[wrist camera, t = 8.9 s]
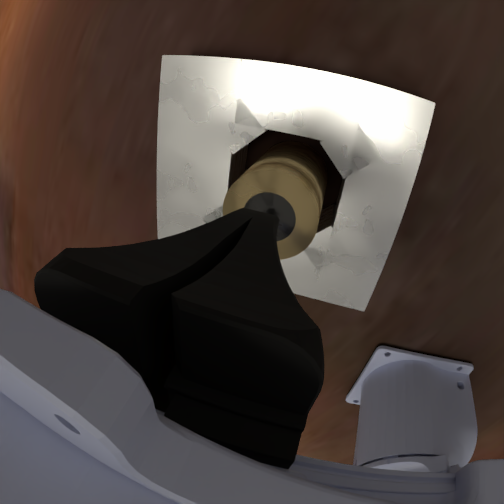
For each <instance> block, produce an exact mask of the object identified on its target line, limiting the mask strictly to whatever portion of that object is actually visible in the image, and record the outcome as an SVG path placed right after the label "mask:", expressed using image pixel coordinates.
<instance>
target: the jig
mask: <svg viewBox="0 0 504 504" xmlns="http://www.w3.org/2000/svg"><path fill="white" fill-rule="evenodd" d="M434 107H435V103H434V102H431V101H429V100H426V99H423V98H420V97H417V96H414V95H411V94H408V93H405V92H402V91H399V90H396V89H392V88H389V87H386V86H382V85H379V84H375V83H372V82H368V81H364V80H360V79H356V78H352V77H348V76H344V75H339V74H335V73H330V72H325V71H320V70H315V69H310V68H305V67H299V66H293V65H287V64H280V63H273V62H265V61H257V60H248V59H237V58H225V57H209V56H181V55H162V65H161V78H160V92H159V110H158V135H157V226H158V239H161V238H165V237H168V236H172V235H175V234H179V233H182V232H185V231H188V230H190V229H193V228H195V227H198V226H201V225H203V224H206V223H208V222H211V221H213V220H215V219H218V218H220V217H222V216H223V203H224V198H225V196H226V193H227V192H228V190H229V188H230V187H231V186H232V184H233V183H234V182H235V181H236V180H237V179H239V178H240V177H241V176H242V175H243V174H244V173H245V168H246V160H247V152H248V144H249V143H250V142H251V141H252V140H254V139H255V138H257V137H258V136H260V135H261V134H262V133H264V132H265V131H267V130H274V131H279V132H284V133H289V134H294V135H298V136H303V137H308V138H312V139H316V140H321V141H320V144H321V145H322V147H323V148H324V150H325V151H326V153H327V154H328V156H329V157H330V159H331V160H332V162H333V163H334V165H335V166H336V168H337V170H338V171H339V173H340V174H341V176H342V177H343V178H342V182H341V186H340V190H339V194H338V198H337V202H336V206H335V204H332V205H330V206H328V207H327V208H325V209H323V210H321V214H320V219H319V223H318V227H317V232H316V234H315V237H314V239H313V240H312V242H311V243H310V245H309V246H308V247H307V248H306V249H305V250H304V251H302V252H301V253H299V254H298V255H296V256H293V257H291V258H287V259H282V260H280V262H281V265H282V268H283V271H284V274H285V277H286V279H287V282H288V284H289V286H290V288H291V290H292V292H293V293H295V294H299V295H302V296H306V297H310V298H314V299H317V300H321V301H325V302H329V303H333V304H337V305H340V306H344V307H348V308H352V309H356V310H360V311H365V308H366V306H367V304H368V302H369V300H370V297H371V295H372V293H373V290H374V288H375V286H376V284H377V281H378V279H379V276H380V274H381V272H382V269H383V267H384V264H385V262H386V259H387V257H388V254H389V252H390V249H391V247H392V244H393V241H394V239H395V236H396V233H397V231H398V228H399V225H400V222H401V220H402V217H403V214H404V211H405V208H406V205H407V202H408V199H409V196H410V193H411V190H412V187H413V184H414V181H415V178H416V174H417V171H418V168H419V164H420V161H421V157H422V154H423V150H424V147H425V143H426V139H427V136H428V132H429V128H430V124H431V120H432V116H433V112H434Z"/></svg>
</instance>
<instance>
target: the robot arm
mask: <svg viewBox="0 0 504 504" xmlns="http://www.w3.org/2000/svg"><path fill="white" fill-rule="evenodd" d="M279 220H280V219H279V218H278V216H276V215H272V214H268V213H264V212H260V211H255V210H251V209H247V208H241V209H238V210H236V211H233V212H231V213H229V214H227V215H224V216H222V217H220V218H218V219H215V220H213V221H211V222H208V223H206V224H203V225H201V226H198V227H195V228H193V229H190V230H188V231H185V232H182V233H179V234H175V235H172V236H168V237H165V238H161V239H157V240H151V241H146V242H141V243H136V244H130V245H122V246H112V247H100V248H66V249H64V250H63V251H62V252H61V253H60V254H58V255H57V256H56V257H55V258H54V259H52V260H51V261H50V262H49V263H48V264H47V265H45V266H44V267H43V268H42V269H41V270H40V271H38V272H37V274H36V276H35V279H34V283H35V293H36V297H37V301H38V303H39V306H40V308H41V309H39V308H37V307H36V306H34V305H32V304H30V303H29V302H27V301H25V300H24V299H22V298H21V297H19V296H17V295H16V294H14V293H12V292H10V291H6V290H3V289H0V504H504V459H490V460H477V461H474V462H471V463H469V464H467V463H468V462H469V460H470V459H471V457H472V455H473V452H474V449H475V446H476V441H477V421H476V414H475V407H474V401H473V395H472V389H471V384H470V379H469V374H470V373H471V372H472V371H473V364H471V363H466V362H460V361H455V360H450V359H445V358H440V357H435V356H430V355H425V354H420V353H415V352H410V351H406V350H401V349H397V348H392V347H388V346H379V347H377V348H376V350H375V351H374V353H373V355H372V356H371V358H370V360H369V361H368V363H367V365H366V366H365V368H364V370H363V371H362V373H361V374H360V376H359V378H358V379H357V381H356V382H355V384H354V385H353V387H352V389H351V390H350V392H349V393H348V395H347V396H346V401H347V402H348V403H353V404H358V405H360V410H359V420H358V430H357V438H356V446H355V454H354V461H353V465H348V464H342V463H336V462H330V461H325V460H319V459H314V458H309V457H305V456H300V455H296V454H297V450H298V446H299V441H300V437H301V433H302V432H303V430H304V428H305V425H306V420H307V416H308V413H309V411H310V409H311V407H312V406H313V404H314V402H315V400H316V399H317V397H318V395H319V393H320V391H321V388H322V385H323V380H324V353H323V345H322V338H321V333H320V329H319V328H318V326H317V325H316V324H315V323H314V322H313V320H312V319H311V318H310V317H309V316H308V315H307V314H306V312H305V311H304V310H303V309H302V307H301V306H300V304H299V303H298V301H297V299H296V297H295V295H294V293H293V292H292V290H291V288H290V286H289V284H288V282H287V279H286V277H285V274H284V271H283V268H282V265H281V262H280V258H279V253H278V247H277V238H276V236H277V231H278V225H279ZM387 352H389V353H387Z"/></svg>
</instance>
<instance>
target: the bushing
mask: <svg viewBox="0 0 504 504" xmlns="http://www.w3.org/2000/svg"><path fill="white" fill-rule="evenodd" d="M327 181H328V171H327V167H326V164H325V162H324V160H323V158H322V157H321V155H320V154H319V153H318V152H317V151H316V150H315V149H314V148H312V147H311V146H309V145H307V144H305V143H302V142H297V141H285V142H281V143H278V144H276V145H274V146H273V147H271V148H270V149H269V150H268V151H267V152H266V153H265V154H264V155H263V156H261V157H260V158H259V159H258V160H257V161H256V162H255V163H254V164H253V165H252V166H251V167H250V168H249V169H248V170H247V171H246V172H245V173H244V174H243V175H242V176H241V177H240V178H239V179H237V180H236V181H235V182H234V183H233V184H232V186H231V187H230V188H229V190H228V192H227V193H226V196H225V198H224V203H223V216H224V215H227V214H229V213H231V212H233V211H236V210H238V209H241V208H247V209H251V210H255V211H260V212H264V213H268V214H272V215H276V216H278V218H279V219H280V220H279V225H278V231H277V236H276V238H277V247H278V253H279V258H280V260H282V259H287V258H291V257H293V256H296V255H298V254H299V253H301V252H302V251H304V250H305V249H306V248H307V247H308V246H309V245H310V243H311V242H312V240H313V239H314V237H315V234H316V232H317V227H318V223H319V219H320V214H321V209H322V205H323V200H324V195H325V191H326V186H327Z"/></svg>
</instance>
